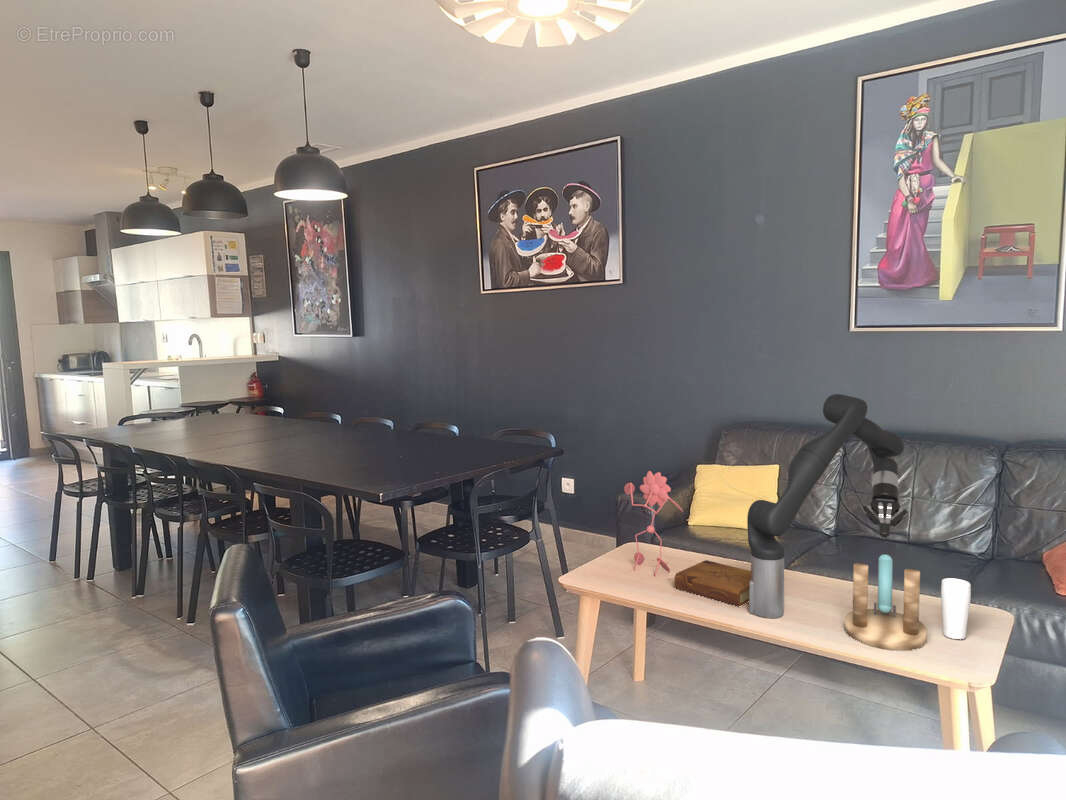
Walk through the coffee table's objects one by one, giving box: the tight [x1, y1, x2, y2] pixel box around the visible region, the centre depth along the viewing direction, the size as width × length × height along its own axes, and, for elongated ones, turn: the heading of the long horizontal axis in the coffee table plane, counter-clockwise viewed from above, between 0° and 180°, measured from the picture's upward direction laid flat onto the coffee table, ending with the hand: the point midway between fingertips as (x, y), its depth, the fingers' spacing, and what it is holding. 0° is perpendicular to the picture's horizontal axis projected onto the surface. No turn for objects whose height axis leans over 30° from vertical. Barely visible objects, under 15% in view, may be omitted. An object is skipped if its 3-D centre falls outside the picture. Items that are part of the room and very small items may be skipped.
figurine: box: [623, 470, 684, 581], centre depth 244 cm, size 15×26×35 cm, turn 43°
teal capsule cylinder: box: [877, 554, 894, 614], centre depth 196 cm, size 4×4×17 cm
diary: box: [674, 559, 751, 608], centre depth 223 cm, size 23×19×6 cm
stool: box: [843, 562, 928, 652], centre depth 187 cm, size 20×20×20 cm
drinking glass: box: [940, 577, 972, 641], centre depth 185 cm, size 7×7×15 cm
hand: (884, 536), depth 211 cm, fingers closed
